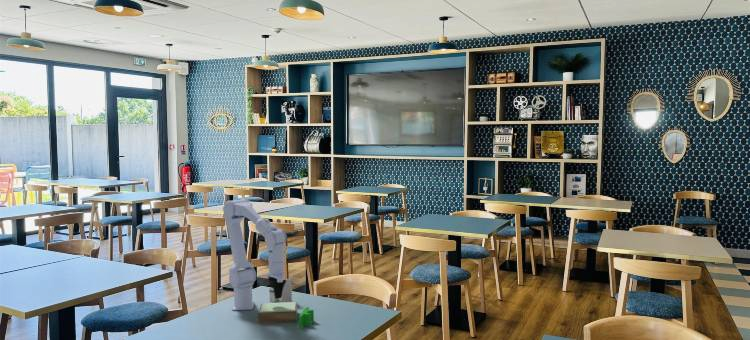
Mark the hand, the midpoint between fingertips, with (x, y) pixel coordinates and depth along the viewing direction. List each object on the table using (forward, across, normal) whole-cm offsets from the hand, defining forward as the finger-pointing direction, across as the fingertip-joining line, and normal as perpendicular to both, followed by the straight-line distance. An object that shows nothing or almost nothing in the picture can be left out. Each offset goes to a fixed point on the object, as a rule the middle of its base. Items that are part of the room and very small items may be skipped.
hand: (277, 296), depth 205 cm
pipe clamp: (+9, +10, +9) cm, 16 cm away
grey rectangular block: (+9, -18, +6) cm, 21 cm away
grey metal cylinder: (+2, 0, 0) cm, 2 cm away
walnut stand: (+8, 0, 0) cm, 8 cm away
